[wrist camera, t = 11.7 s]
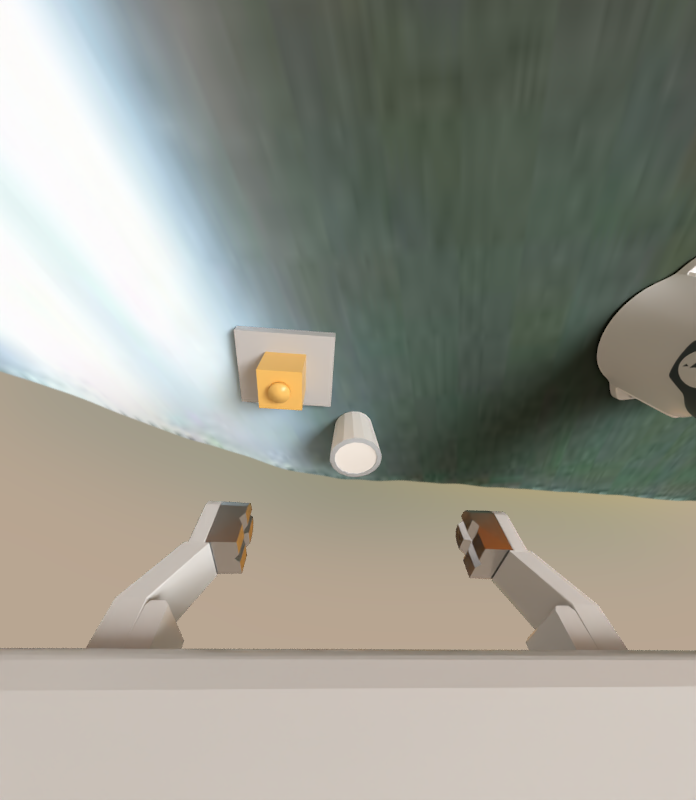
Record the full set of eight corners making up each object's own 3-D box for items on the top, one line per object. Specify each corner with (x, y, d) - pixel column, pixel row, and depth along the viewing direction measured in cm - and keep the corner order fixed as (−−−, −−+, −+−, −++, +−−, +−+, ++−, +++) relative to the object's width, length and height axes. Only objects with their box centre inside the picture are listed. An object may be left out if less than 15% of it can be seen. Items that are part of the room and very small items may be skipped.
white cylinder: (322, 419, 45) (319, 450, 39) (364, 400, 43) (368, 430, 37) (343, 450, 48) (344, 484, 42) (383, 434, 47) (390, 466, 41)
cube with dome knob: (306, 354, 38) (301, 375, 33) (305, 389, 40) (301, 413, 35) (265, 351, 37) (254, 372, 32) (267, 387, 40) (257, 411, 35)
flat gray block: (335, 332, 38) (334, 348, 34) (330, 400, 43) (329, 421, 39) (237, 325, 37) (224, 340, 33) (244, 395, 42) (234, 416, 38)
